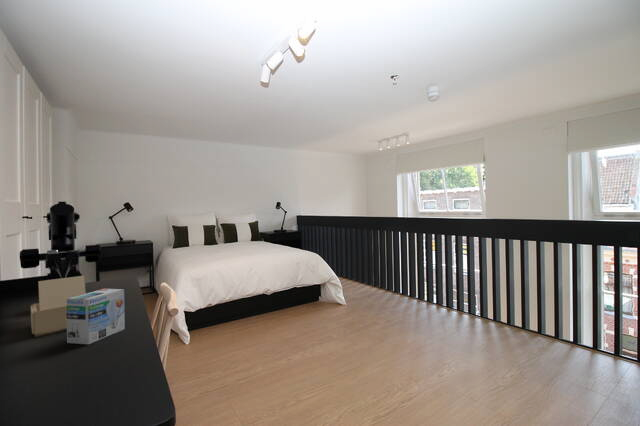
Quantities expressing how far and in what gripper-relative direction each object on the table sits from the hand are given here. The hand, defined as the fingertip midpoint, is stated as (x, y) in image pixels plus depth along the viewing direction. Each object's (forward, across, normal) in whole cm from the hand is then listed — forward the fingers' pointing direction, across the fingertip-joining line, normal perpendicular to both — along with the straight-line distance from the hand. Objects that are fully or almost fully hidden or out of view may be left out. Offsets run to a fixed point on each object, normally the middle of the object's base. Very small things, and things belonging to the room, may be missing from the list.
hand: (63, 277), depth 88 cm
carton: (+11, 0, -8) cm, 13 cm away
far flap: (+7, 0, +3) cm, 8 cm away
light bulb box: (+23, -6, +4) cm, 25 cm away
